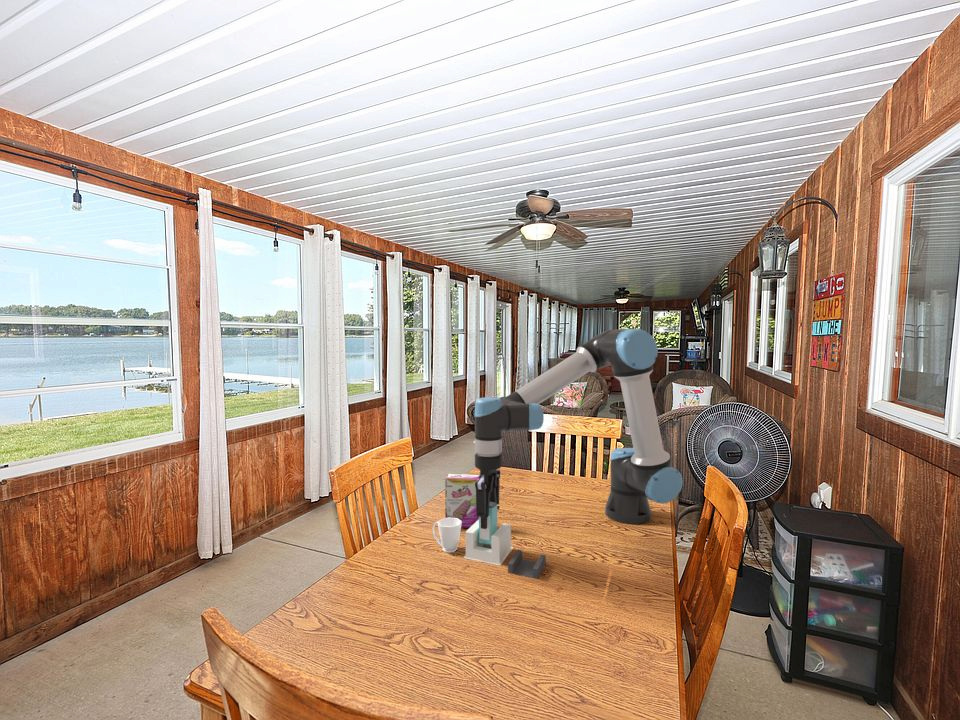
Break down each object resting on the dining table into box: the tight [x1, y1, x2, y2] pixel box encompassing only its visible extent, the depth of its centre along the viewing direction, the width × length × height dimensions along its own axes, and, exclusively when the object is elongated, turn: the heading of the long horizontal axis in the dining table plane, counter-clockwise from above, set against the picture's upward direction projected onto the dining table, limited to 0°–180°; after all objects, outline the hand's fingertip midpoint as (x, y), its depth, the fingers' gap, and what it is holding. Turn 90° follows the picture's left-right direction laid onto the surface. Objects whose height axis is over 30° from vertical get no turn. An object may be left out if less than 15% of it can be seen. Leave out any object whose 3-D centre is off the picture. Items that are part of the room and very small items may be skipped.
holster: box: [507, 549, 547, 580], centre depth 115 cm, size 8×8×3 cm
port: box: [462, 519, 514, 567], centre depth 124 cm, size 11×11×8 cm
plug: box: [479, 502, 498, 545], centre depth 123 cm, size 4×4×11 cm
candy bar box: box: [444, 473, 480, 529], centre depth 143 cm, size 11×5×16 cm, turn 84°
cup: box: [431, 517, 462, 554], centre depth 128 cm, size 7×10×8 cm
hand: (488, 535), depth 123 cm, fingers closed on plug, 4 cm apart
